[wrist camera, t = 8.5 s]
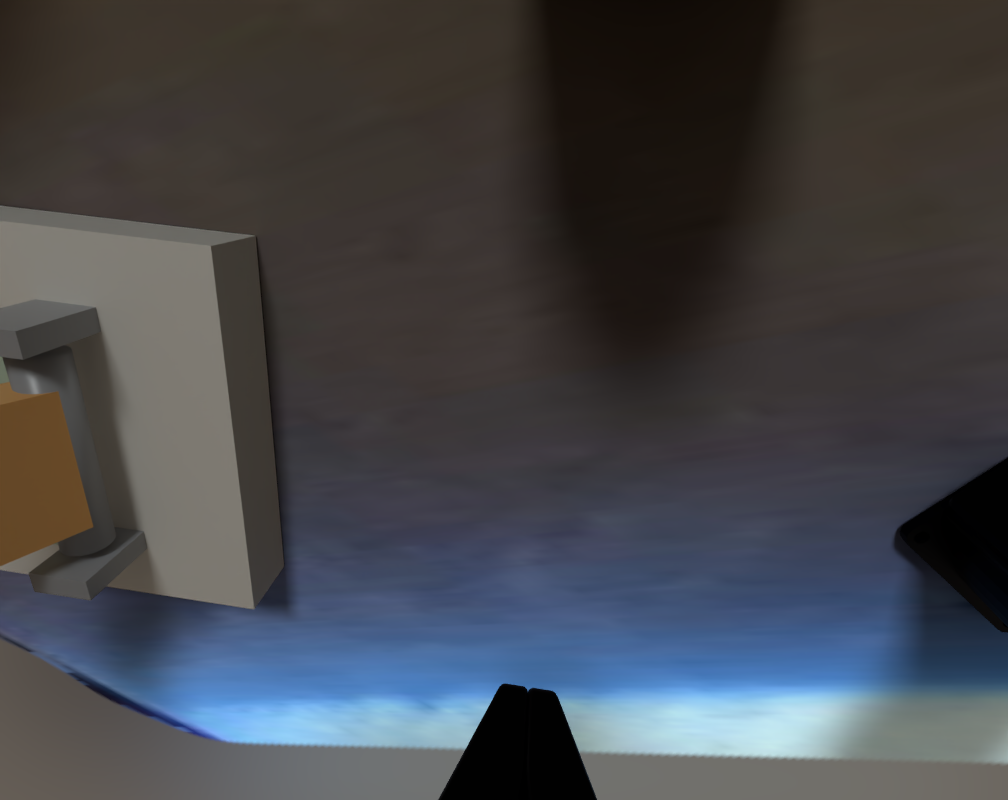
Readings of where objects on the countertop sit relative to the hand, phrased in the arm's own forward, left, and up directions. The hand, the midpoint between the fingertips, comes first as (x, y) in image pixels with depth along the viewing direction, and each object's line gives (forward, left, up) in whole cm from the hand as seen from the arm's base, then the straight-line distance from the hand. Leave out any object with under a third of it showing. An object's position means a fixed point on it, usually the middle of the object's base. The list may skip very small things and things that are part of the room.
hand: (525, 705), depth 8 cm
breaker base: (+11, +11, -12) cm, 20 cm away
